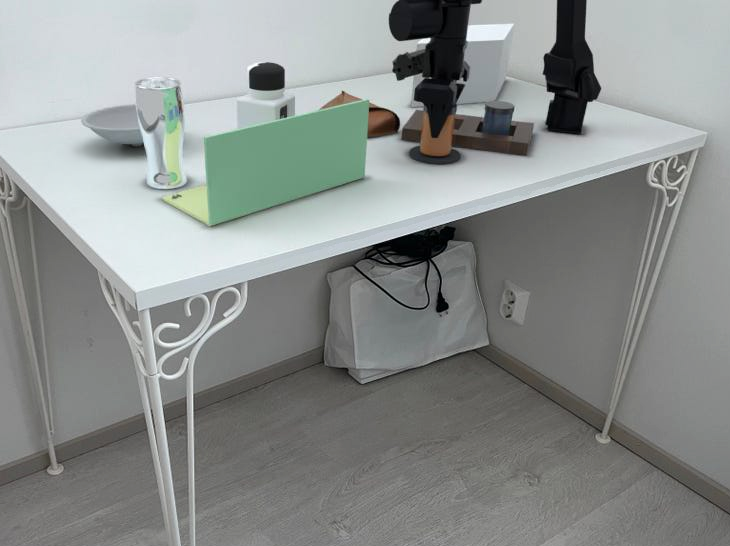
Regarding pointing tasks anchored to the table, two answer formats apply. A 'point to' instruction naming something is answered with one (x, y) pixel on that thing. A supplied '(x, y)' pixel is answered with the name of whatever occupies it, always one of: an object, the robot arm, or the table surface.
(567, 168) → the table surface
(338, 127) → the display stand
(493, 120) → the spice jar
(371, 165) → the table surface
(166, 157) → the beer glass
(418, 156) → the coaster
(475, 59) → the block
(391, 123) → the sunglasses case
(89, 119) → the dish
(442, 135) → the amber jar
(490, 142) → the jar stand
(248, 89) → the container
